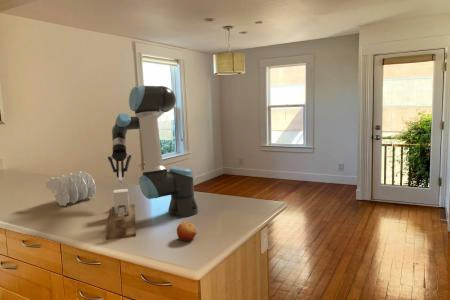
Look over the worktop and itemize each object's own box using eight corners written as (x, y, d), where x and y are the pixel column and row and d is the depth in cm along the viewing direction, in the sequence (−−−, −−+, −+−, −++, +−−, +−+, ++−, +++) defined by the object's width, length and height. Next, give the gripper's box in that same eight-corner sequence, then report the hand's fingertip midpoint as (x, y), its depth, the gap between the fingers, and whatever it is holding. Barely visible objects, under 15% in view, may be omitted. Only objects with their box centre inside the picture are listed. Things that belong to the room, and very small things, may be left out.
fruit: (177, 231, 144) (185, 216, 142) (192, 241, 143) (201, 226, 141) (169, 238, 137) (177, 222, 135) (185, 249, 135) (194, 234, 133)
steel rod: (125, 202, 184) (125, 197, 183) (124, 228, 144) (123, 222, 143) (120, 202, 183) (119, 197, 183) (117, 229, 143) (116, 222, 143)
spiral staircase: (96, 203, 210) (60, 213, 188) (78, 189, 217) (41, 197, 195) (104, 178, 205) (68, 185, 183) (85, 164, 212) (48, 169, 190)
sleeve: (129, 210, 174) (127, 188, 172) (129, 214, 168) (127, 191, 167) (115, 212, 172) (114, 189, 171) (115, 216, 167) (113, 192, 165)
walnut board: (134, 206, 188) (133, 192, 187) (136, 236, 144) (134, 217, 143) (112, 208, 185) (110, 194, 184) (106, 240, 141) (104, 221, 140)
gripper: (131, 150, 202) (133, 184, 188) (108, 152, 198) (108, 186, 184) (130, 142, 196) (132, 176, 182) (106, 144, 192) (107, 178, 179)
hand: (120, 181), depth 183 cm, fingers closed
